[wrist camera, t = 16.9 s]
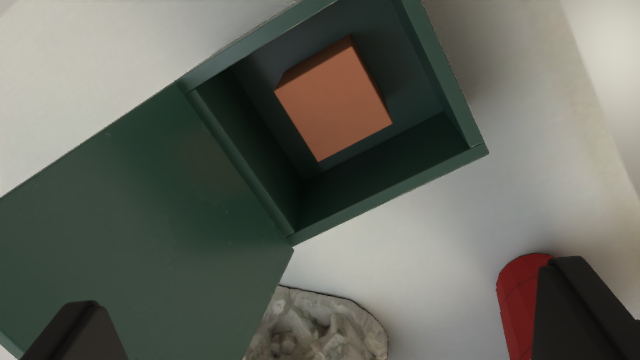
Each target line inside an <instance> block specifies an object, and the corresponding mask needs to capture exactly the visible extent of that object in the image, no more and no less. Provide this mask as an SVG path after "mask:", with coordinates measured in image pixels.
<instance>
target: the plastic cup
mask: <svg viewBox="0 0 640 360" xmlns="http://www.w3.org/2000/svg"><path fill="white" fill-rule="evenodd" d="M550 258H554V257H552V256H550V255H547V254H536V253H534V254H529V255H525V256H520V257H519V258H517V259H515V260H513V261H512V262H510V263H508V264H507V265H506V266H505V268H504V269H503V270H502V271H501V272H500V273H499V276H498V280H497V283H496V286H497V288H496V292H497V297H498V302H499V306H500V310H501V312H500V314H501V319H502V324H503V329H504V334H505V338H506V343H507V347H508V352H509V357H510V360H531V352H532V340H533V327H534V315H535V303H536V291H537V279H538V270H539V268H540V267H541V266H546V265H547V261H548V259H550Z"/></svg>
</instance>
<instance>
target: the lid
mask: <svg viewBox="0 0 640 360" xmlns="http://www.w3.org/2000/svg"><path fill="white" fill-rule="evenodd" d="M293 252H294V249H293V248H292V247H291V245H290V244H289V242H288V241H287V239H286V238H285V237H284V235H283V234H282V232H281V231H280V230H279V228H278V227H277V225H276V224H275V223H274V221H273V220H272V218H271V217H270V216H269V214H268V213H267V211H266V210H265V208H264V207H263V206H262V204H261V203H260V201H259V200H258V199H257V197H256V196H255V194H254V193H253V192H252V190H251V189H250V187H249V186H248V185H247V183H246V182H245V180H244V179H243V178H242V176H241V175H240V173H239V172H238V170H237V169H236V168H235V166H234V165H233V163H232V162H231V161H230V159H229V158H228V156H227V155H226V154H225V152H224V151H223V149H222V148H221V147H220V145H219V144H218V142H217V141H216V139H215V138H214V137H213V135H212V134H211V132H210V131H209V130H208V128H207V127H206V125H205V124H204V123H203V121H202V120H201V118H200V117H199V116H198V114H197V113H196V111H195V110H194V109H193V107H192V106H191V104H190V103H189V101H188V100H187V99H186V97H185V96H184V94H183V93H182V92H181V90H180V89H179V87H178V86H177V85H176V83H175V82H173V83H171V84H170V85H168V86H166V87H165V88H163V89H162V90H160V91H159V92H157V93H156V94H154V95H153V96H151V97H150V98H148V99H147V100H145V101H144V102H142V103H141V104H139V105H138V106H136V107H135V108H133V109H132V110H130V111H129V112H127V113H126V114H124V115H123V116H121V117H120V118H118V119H117V120H115V121H114V122H112V123H111V124H109V125H108V126H106V127H105V128H103V129H102V130H100V131H99V132H97V133H96V134H94V135H93V136H91V137H90V138H89V139H87V140H86V141H84V142H83V143H81V144H80V145H78V146H77V147H75V148H74V149H72V150H71V151H69V152H68V153H66V154H65V155H63V156H62V157H60V158H59V159H57V160H56V161H54V162H53V163H51V164H50V165H48V166H47V167H45V168H44V169H42V170H41V171H39V172H38V173H36V174H35V175H33V176H32V177H30V178H29V179H27V180H26V181H24V182H23V183H21V184H20V185H18V186H17V187H15V188H14V189H12V190H11V191H9V192H8V193H6V194H5V195H3V196H2V197H0V344H1V345H2V346H3V347H4V348H5V349H6V350H8V351H9V352H10V353H11V354H12V355H13V356H14V357H15V358H17V359H18V360H20V358H21V357H22V356H23V355H24V353H25V352H26V351H27V350H28V348H29V347H30V346H31V345H32V343H33V342H34V341H35V340H36V339H37V337H38V336H39V335H40V334H41V332H42V331H43V330H44V329H45V327H46V326H47V325H48V324H49V322H50V321H51V320H52V319H53V317H54V316H55V315H56V314H57V312H58V311H59V310H60V309H61V307H62V306H64V305H65V304H66V303H69V302H76V301H87V300H95V301H97V302H98V303H99V304H100V306H104V307H105V308H106V309H107V311H108V313H109V316H110V318H111V320H112V322H113V325H114V327H115V329H116V331H117V334H118V336H119V338H120V341H121V343H122V345H123V347H124V350H125V352H126V354H127V356H128V359H129V360H243V358H244V356H245V354H246V351H247V349H248V347H249V345H250V343H251V341H252V339H253V337H254V335H255V332H256V330H257V328H258V326H259V324H260V322H261V320H262V318H263V316H264V313H265V311H266V309H267V307H268V305H269V303H270V301H271V299H272V297H273V294H274V292H275V290H276V288H277V286H278V284H279V282H280V280H281V278H282V275H283V273H284V271H285V269H286V267H287V265H288V263H289V261H290V259H291V256H292V254H293Z"/></svg>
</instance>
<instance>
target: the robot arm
mask: <svg viewBox="0 0 640 360" xmlns="http://www.w3.org/2000/svg"><path fill="white" fill-rule="evenodd" d="M20 360H129V359H128V356H127V354H126V352H125V350H124V347H123V345H122V343H121V341H120V338H119V336H118V334H117V331H116V329H115V327H114V325H113V322H112V320H111V318H110V316H109V313H108V311H107V309H106V308H105V307H104V306H100V304H99V303H98V302H97V301H95V300H87V301H76V302H69V303H66V304H65V305H64V306H62V307H61V309H60V310H59V311H58V312H57V314H56V315H55V316H54V317H53V319H52V320H51V321H50V322H49V324H48V325H47V326H46V327H45V329H44V330H43V331H42V332H41V334H40V335H39V336H38V337H37V339H36V340H35V341H34V342H33V343H32V345H31V346H30V347H29V348H28V350H27V351H26V352H25V353H24V355H23V356H22V357H21V358H20ZM531 360H640V320H638V319H637V320H635V319H634V318H633V316H632V315H631V314H630V313H629V312H628V310H627V309H626V308H625V307H624V306H623V305H622V303H621V302H620V301H619V300H618V299H617V297H616V296H615V295H614V294H613V293H612V291H611V290H610V289H609V288H608V287H607V285H606V284H605V283H604V282H603V281H602V279H601V278H600V277H599V276H598V275H597V274H596V272H595V271H594V270H593V269H592V268H591V266H590V265H589V264H588V263H587V262H586V260H585V259H584V258H582V257H581V256H569V257H558V258H550V259H548V261H547V265H546V266H541V267H540V268H539V270H538V279H537V291H536V303H535V315H534V327H533V340H532V352H531Z"/></svg>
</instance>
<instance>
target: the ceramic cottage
mask: <svg viewBox="0 0 640 360" xmlns="http://www.w3.org/2000/svg"><path fill="white" fill-rule="evenodd" d="M387 351H388V336H387V334H386V332H385V330H384V329H383V327H382V326H381V325H380V323H378V320H376V318H374V317H373V316H372V315H371V314H368V313H367V311H365V310H362V308H359V307H358V306H357V305H356V304H355V303H353V302H352V301H350V300H346V299H340V298H336V297H330V296H326V295H321V294H316V293H313V292H307V291H301V290H299V289H291V288H290V289H288V288H287V287H281V286H277V288H276V290H275V292H274V294H273V297H272V299H271V301H270V303H269V305H268V307H267V309H266V311H265V313H264V316H263V318H262V320H261V322H260V324H259V326H258V328H257V330H256V332H255V335H254V337H253V339H252V341H251V343H250V345H249V347H248V349H247V351H246V354H245V356H244V358H243V360H386V358H387Z"/></svg>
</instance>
